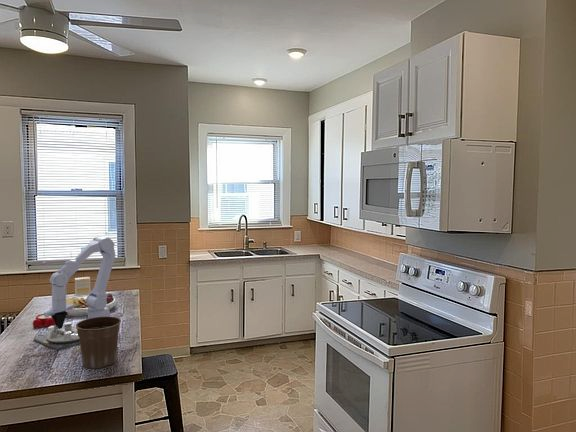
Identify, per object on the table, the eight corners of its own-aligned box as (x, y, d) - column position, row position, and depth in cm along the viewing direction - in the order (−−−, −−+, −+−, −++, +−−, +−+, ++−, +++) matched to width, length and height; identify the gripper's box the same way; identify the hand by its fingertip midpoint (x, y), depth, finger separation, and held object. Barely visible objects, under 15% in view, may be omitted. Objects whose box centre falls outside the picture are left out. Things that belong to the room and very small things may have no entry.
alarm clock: (60, 312, 225) (54, 314, 211) (60, 324, 224) (53, 327, 210) (38, 313, 222) (29, 315, 208) (37, 326, 221) (29, 328, 207)
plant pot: (71, 373, 162) (70, 330, 160) (81, 356, 177) (80, 317, 176) (118, 369, 165) (117, 327, 164) (123, 353, 181) (123, 315, 180)
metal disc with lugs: (75, 327, 208) (75, 319, 208) (96, 335, 199) (96, 326, 199) (38, 337, 194) (38, 328, 194) (59, 346, 185) (59, 336, 185)
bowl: (62, 321, 222) (62, 306, 221) (50, 308, 245) (50, 294, 245) (122, 312, 241) (122, 297, 240) (106, 300, 264) (105, 287, 264)
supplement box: (89, 297, 269) (89, 276, 268) (90, 299, 264) (90, 278, 264) (74, 299, 264) (74, 277, 264) (75, 301, 260) (75, 279, 259)
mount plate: (77, 328, 211) (76, 326, 210) (101, 337, 199) (101, 334, 199) (33, 340, 194) (33, 337, 194) (57, 350, 183) (57, 347, 183)
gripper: (65, 294, 208) (65, 322, 208) (38, 301, 194) (39, 331, 195) (76, 296, 205) (77, 324, 206) (50, 303, 192) (51, 334, 193)
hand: (59, 328), depth 200 cm, fingers closed
